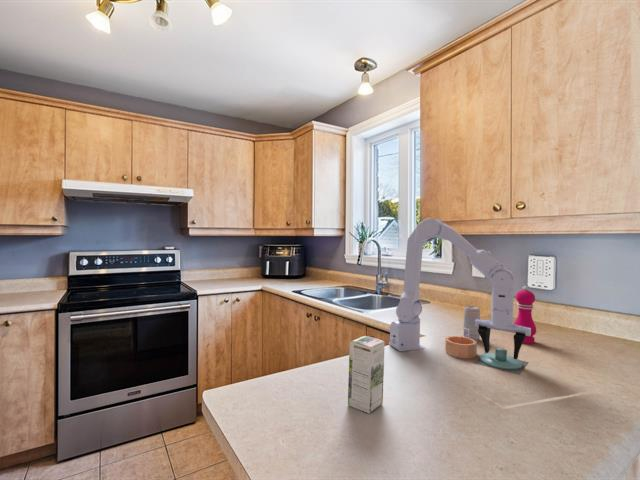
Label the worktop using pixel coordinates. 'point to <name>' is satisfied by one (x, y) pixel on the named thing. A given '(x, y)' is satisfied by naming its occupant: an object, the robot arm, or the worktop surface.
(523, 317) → the pepper mill
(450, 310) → the worktop surface
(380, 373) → the syrup box
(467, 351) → the bowl
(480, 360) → the mat
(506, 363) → the cover
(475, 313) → the energy drink
